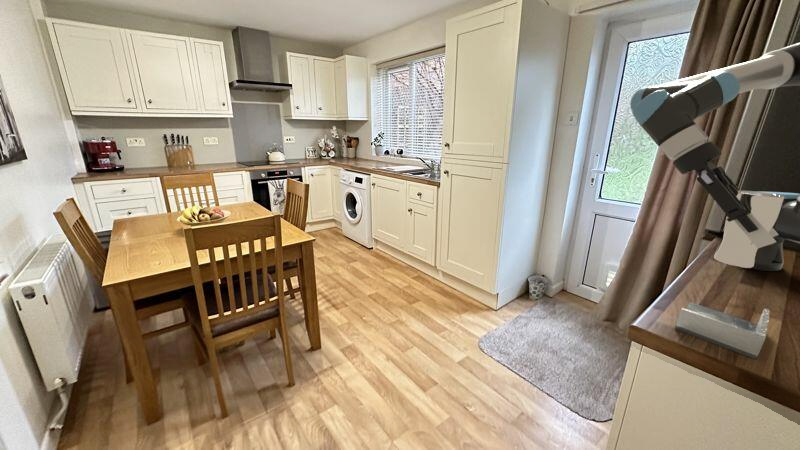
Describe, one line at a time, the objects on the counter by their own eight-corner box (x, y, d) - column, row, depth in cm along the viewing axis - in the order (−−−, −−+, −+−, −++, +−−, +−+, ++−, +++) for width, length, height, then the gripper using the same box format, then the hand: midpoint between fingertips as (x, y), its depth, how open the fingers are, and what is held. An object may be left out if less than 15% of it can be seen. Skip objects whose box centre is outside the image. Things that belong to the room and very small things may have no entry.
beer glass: (702, 254, 72) (726, 189, 67) (734, 256, 72) (760, 191, 67) (731, 268, 65) (760, 196, 61) (766, 270, 65) (797, 198, 61)
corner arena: (689, 304, 77) (695, 287, 76) (761, 329, 69) (770, 309, 67) (674, 328, 68) (681, 308, 67) (755, 359, 59) (765, 338, 58)
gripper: (681, 159, 80) (749, 240, 73) (659, 163, 68) (738, 260, 61) (717, 139, 74) (795, 224, 67) (700, 139, 62) (792, 242, 55)
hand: (768, 241), depth 64 cm, fingers closed on beer glass, 7 cm apart
